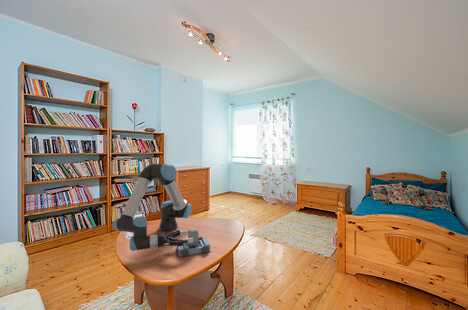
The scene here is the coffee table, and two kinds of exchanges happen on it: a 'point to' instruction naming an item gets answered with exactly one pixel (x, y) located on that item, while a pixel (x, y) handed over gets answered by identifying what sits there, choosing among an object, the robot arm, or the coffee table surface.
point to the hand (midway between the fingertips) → (191, 235)
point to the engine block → (195, 235)
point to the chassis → (202, 248)
